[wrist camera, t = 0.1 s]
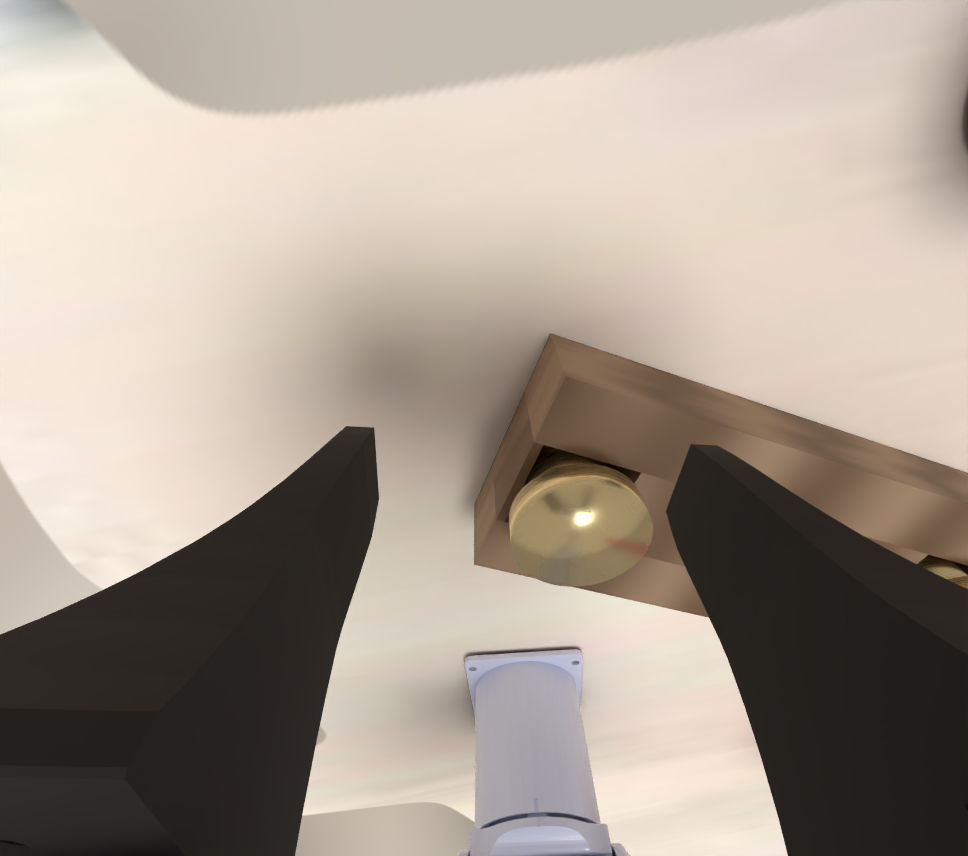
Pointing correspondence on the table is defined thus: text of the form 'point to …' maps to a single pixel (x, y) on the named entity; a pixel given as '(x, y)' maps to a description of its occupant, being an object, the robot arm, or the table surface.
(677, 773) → the table surface
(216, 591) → the robot arm
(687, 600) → the control panel
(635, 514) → the near brass knob
